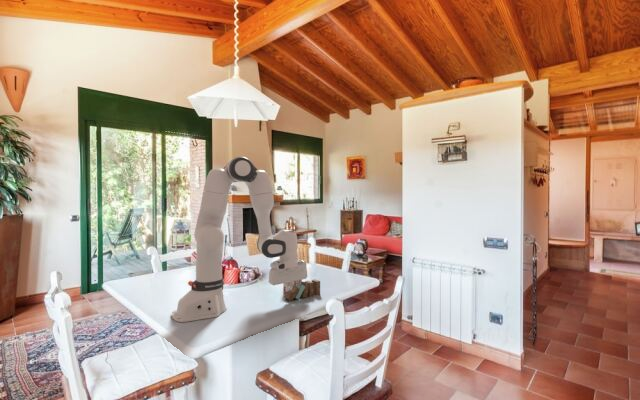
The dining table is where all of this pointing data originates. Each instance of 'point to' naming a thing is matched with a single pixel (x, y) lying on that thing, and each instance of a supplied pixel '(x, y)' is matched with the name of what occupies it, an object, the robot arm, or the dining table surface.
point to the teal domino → (301, 288)
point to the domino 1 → (291, 293)
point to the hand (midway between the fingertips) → (288, 290)
